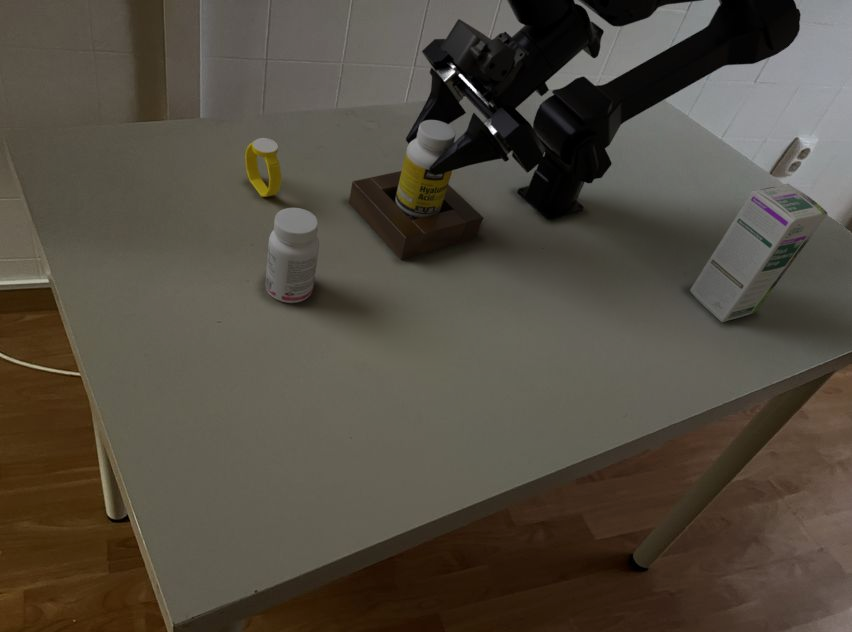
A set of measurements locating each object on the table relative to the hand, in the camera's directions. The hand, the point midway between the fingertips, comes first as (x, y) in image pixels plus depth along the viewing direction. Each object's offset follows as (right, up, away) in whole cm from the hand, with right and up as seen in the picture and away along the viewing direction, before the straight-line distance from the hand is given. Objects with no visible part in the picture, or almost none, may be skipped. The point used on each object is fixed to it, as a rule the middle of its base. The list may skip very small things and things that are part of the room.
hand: (419, 157), depth 77 cm
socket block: (0, -6, +7) cm, 9 cm away
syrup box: (+36, -15, +7) cm, 39 cm away
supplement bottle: (0, -4, +5) cm, 7 cm away
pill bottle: (-13, -15, -5) cm, 21 cm away
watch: (-18, -2, +5) cm, 19 cm away
